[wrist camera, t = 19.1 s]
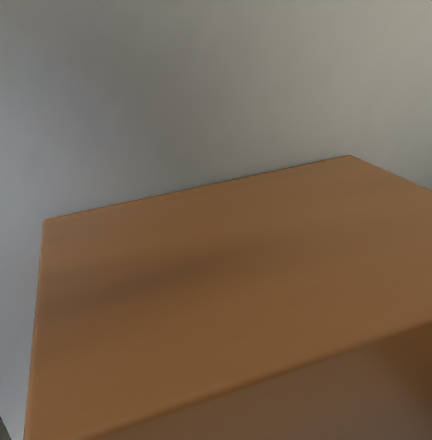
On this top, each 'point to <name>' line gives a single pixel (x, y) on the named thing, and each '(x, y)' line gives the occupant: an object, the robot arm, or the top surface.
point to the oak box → (239, 312)
